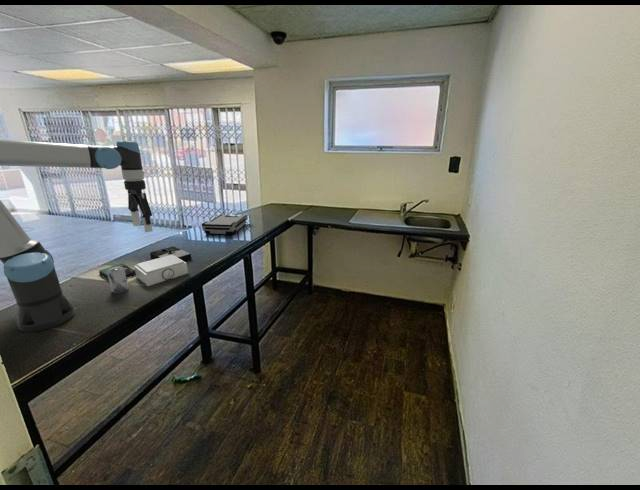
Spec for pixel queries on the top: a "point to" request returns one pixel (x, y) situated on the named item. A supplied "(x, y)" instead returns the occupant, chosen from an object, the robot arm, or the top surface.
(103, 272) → the disk drive
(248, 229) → the top surface
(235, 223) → the game console
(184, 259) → the multimeter
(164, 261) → the scale
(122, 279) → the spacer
